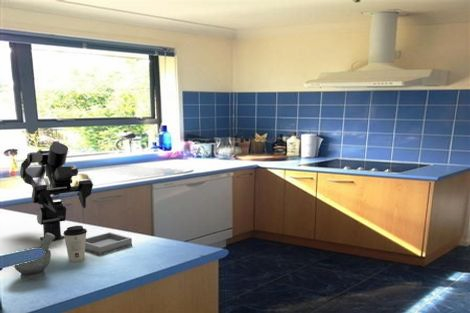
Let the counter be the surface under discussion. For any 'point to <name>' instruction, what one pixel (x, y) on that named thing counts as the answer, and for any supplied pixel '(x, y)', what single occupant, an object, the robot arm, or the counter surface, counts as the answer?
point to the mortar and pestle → (36, 262)
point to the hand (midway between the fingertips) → (70, 209)
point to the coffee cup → (75, 242)
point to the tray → (107, 243)
